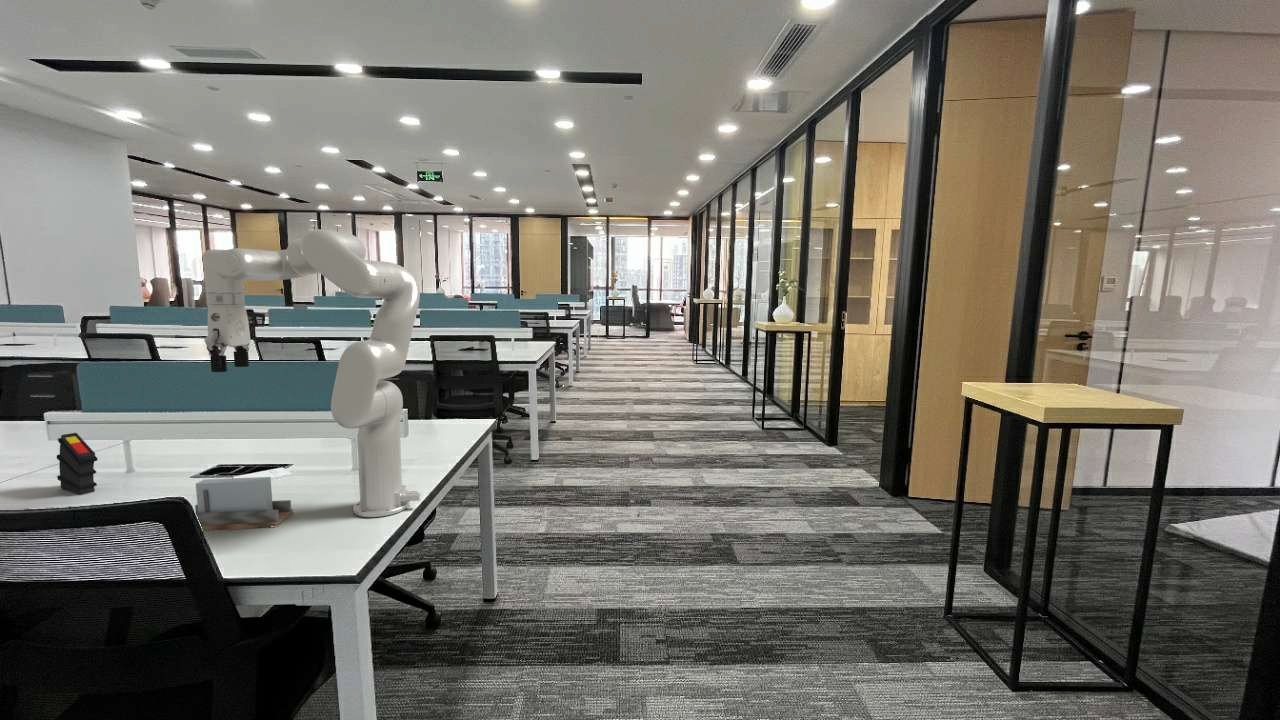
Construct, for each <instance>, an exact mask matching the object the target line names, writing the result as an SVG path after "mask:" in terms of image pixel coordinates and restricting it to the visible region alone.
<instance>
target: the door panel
mask: <svg viewBox="0 0 1280 720" xmlns="http://www.w3.org/2000/svg"><path fill="white" fill-rule="evenodd" d="M195 493H196V501H197V502H196V505H198V513H212V512H236V511H259V510H273V504H272V501H273V493H272V480H271V477H255V478H232V477H231V478H207V479H206V478H203V479H201V480H199V481H198V482H196V483H195Z"/></svg>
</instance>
